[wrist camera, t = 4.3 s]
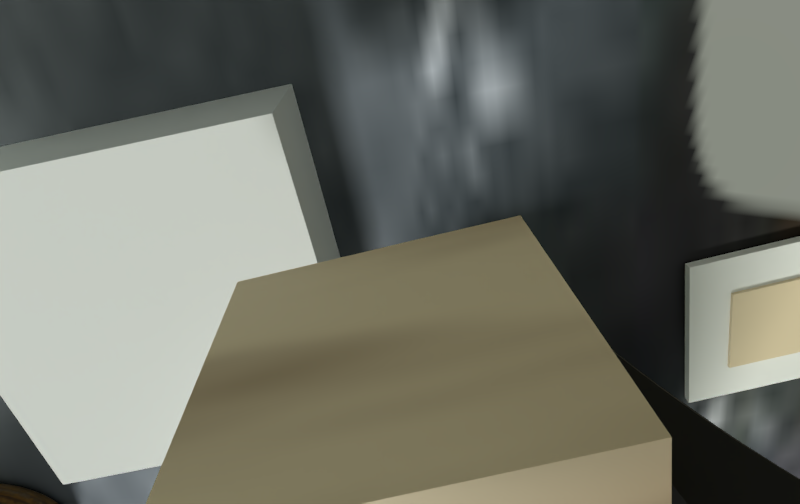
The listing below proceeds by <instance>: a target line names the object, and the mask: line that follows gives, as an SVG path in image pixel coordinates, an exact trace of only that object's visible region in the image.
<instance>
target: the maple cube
mask: <svg viewBox="0 0 800 504" xmlns="http://www.w3.org/2000/svg"><path fill="white" fill-rule="evenodd" d="M146 504H672V437H671V435H670V434H669V432H668V431H667V430H666V428H665V427H664V425H663V424H662V422H661V421H660V419H659V418H658V416H657V415H656V413H655V412H654V410H653V409H652V408H651V406H650V405H649V403H648V402H647V400H646V399H645V397H644V396H643V394H642V393H641V391H640V390H639V388H638V387H637V386H636V384H635V383H634V381H633V380H632V378H631V377H630V375H629V374H628V372H627V371H626V369H625V368H624V366H623V365H622V364H621V362H620V361H619V359H618V358H617V356H616V355H615V353H614V352H613V350H612V349H611V347H610V346H609V344H608V343H607V342H606V340H605V339H604V337H603V336H602V334H601V333H600V331H599V330H598V328H597V327H596V325H595V324H594V323H593V321H592V320H591V318H590V317H589V315H588V314H587V312H586V311H585V309H584V308H583V306H582V305H581V303H580V302H579V301H578V299H577V298H576V296H575V295H574V293H573V292H572V290H571V289H570V287H569V286H568V284H567V283H566V281H565V280H564V279H563V277H562V276H561V274H560V273H559V271H558V270H557V268H556V267H555V265H554V264H553V262H552V261H551V259H550V258H549V257H548V255H547V254H546V252H545V251H544V249H543V248H542V246H541V245H540V243H539V242H538V240H537V239H536V237H535V236H534V235H533V233H532V232H531V230H530V229H529V227H528V226H527V224H526V223H525V221H524V220H523V218H522V217H521V216H520V215H519V216H515V217H511V218H507V219H502V220H498V221H494V222H490V223H485V224H481V225H477V226H473V227H468V228H464V229H460V230H456V231H451V232H447V233H443V234H439V235H434V236H430V237H426V238H422V239H417V240H413V241H409V242H405V243H400V244H396V245H392V246H388V247H383V248H379V249H375V250H371V251H366V252H362V253H358V254H354V255H349V256H345V257H341V258H337V259H332V260H328V261H324V262H320V263H315V264H311V265H307V266H303V267H298V268H294V269H290V270H286V271H281V272H277V273H273V274H269V275H264V276H260V277H256V278H252V279H248V280H243V281H239V282H237V284H236V287H235V289H234V292H233V294H232V296H231V299H230V301H229V304H228V306H227V309H226V311H225V313H224V316H223V318H222V321H221V323H220V325H219V328H218V330H217V333H216V335H215V338H214V340H213V342H212V345H211V347H210V350H209V352H208V354H207V357H206V359H205V362H204V364H203V367H202V369H201V371H200V374H199V376H198V379H197V381H196V384H195V386H194V388H193V391H192V393H191V396H190V398H189V400H188V403H187V405H186V408H185V410H184V413H183V415H182V417H181V420H180V422H179V425H178V427H177V429H176V432H175V434H174V437H173V439H172V442H171V444H170V446H169V449H168V451H167V454H166V456H165V459H164V461H163V463H162V466H161V468H160V471H159V473H158V475H157V478H156V480H155V483H154V485H153V488H152V490H151V492H150V495H149V497H148V500H147V502H146Z"/></svg>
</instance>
